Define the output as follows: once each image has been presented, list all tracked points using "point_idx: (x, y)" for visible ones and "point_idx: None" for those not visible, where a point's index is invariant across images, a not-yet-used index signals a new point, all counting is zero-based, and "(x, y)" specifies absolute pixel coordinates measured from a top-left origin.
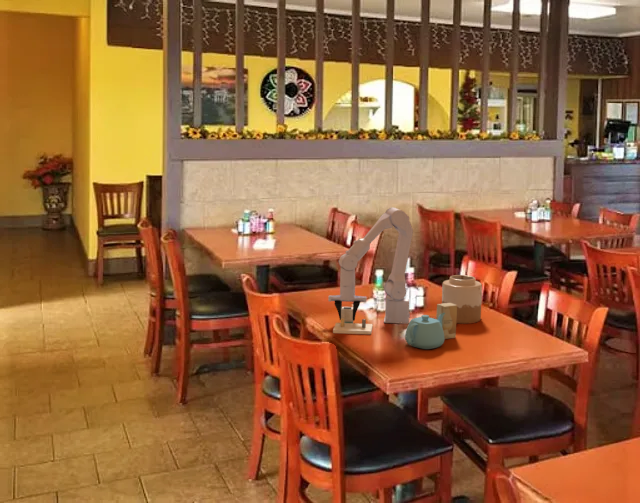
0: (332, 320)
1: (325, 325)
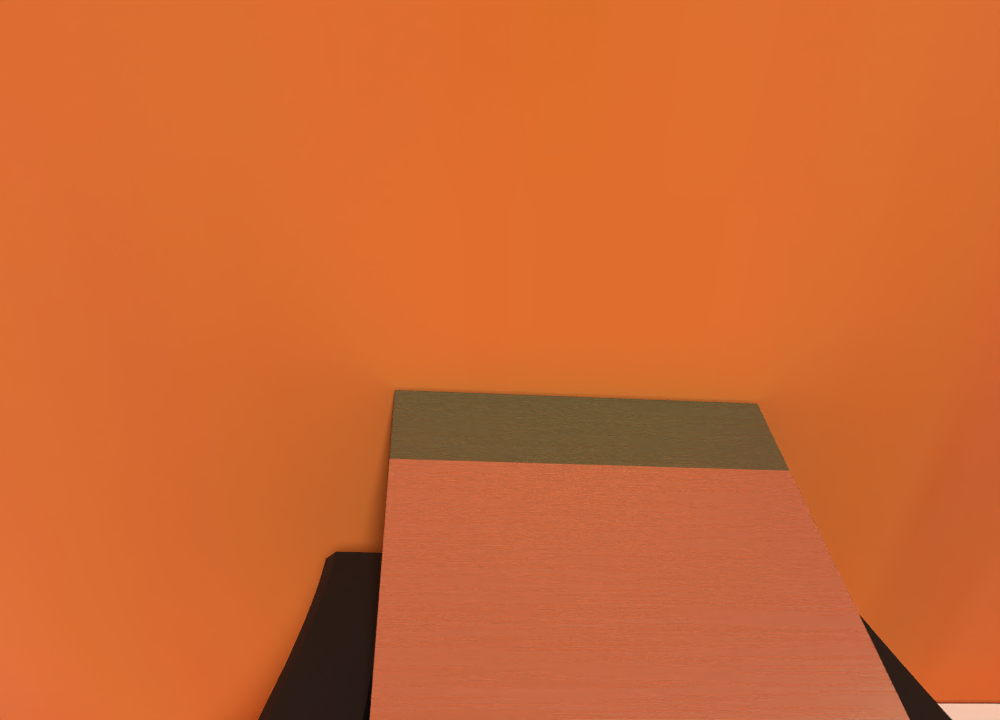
0: (17, 265)
1: (5, 696)
